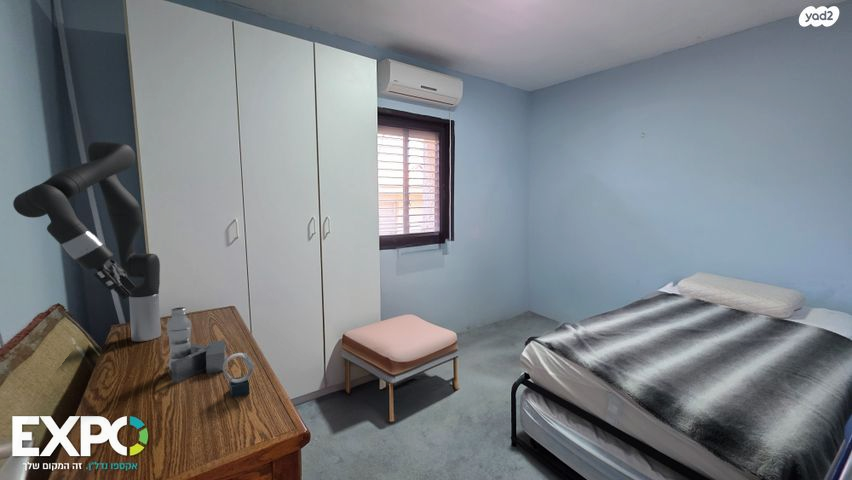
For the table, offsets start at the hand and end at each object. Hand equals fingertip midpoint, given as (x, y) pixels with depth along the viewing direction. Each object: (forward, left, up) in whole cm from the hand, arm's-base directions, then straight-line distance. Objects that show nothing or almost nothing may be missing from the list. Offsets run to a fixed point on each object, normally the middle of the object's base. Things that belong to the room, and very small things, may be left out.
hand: (129, 292), depth 111 cm
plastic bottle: (+5, +13, -26) cm, 29 cm away
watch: (+28, +29, -26) cm, 47 cm away
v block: (+5, +18, -25) cm, 32 cm away
